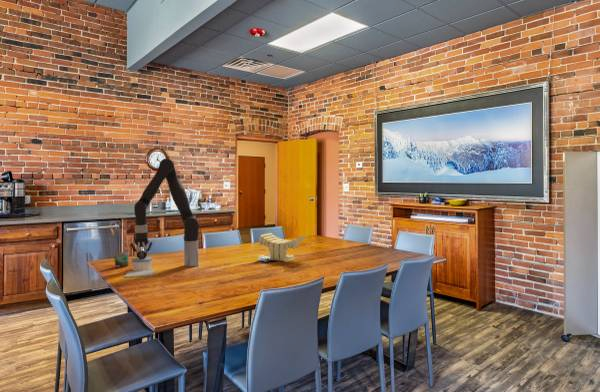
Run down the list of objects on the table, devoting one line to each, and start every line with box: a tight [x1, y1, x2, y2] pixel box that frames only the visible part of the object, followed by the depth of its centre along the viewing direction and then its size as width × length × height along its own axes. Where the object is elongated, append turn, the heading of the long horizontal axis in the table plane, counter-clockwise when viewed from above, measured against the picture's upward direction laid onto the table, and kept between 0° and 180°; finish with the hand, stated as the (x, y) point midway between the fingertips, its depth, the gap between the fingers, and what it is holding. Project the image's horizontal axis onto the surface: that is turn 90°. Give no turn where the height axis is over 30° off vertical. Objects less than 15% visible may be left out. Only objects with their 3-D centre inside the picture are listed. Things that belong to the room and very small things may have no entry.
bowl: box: [132, 260, 152, 271], centre depth 241 cm, size 11×11×6 cm
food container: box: [113, 249, 131, 269], centre depth 248 cm, size 12×6×10 cm, turn 168°
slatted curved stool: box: [258, 232, 306, 263], centre depth 269 cm, size 30×16×18 cm, turn 61°
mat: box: [124, 269, 156, 278], centre depth 228 cm, size 16×12×1 cm
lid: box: [131, 250, 153, 263], centre depth 240 cm, size 12×12×6 cm
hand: (141, 257), depth 240 cm, fingers closed on lid, 3 cm apart
